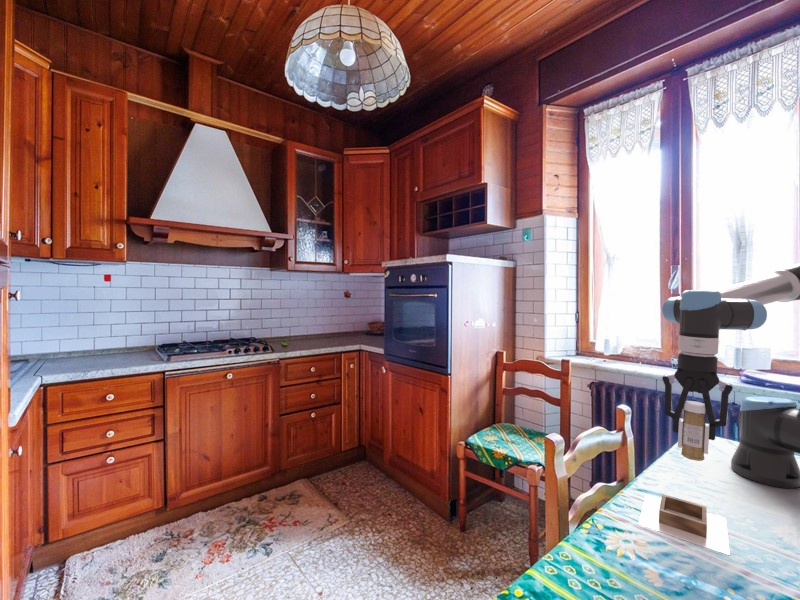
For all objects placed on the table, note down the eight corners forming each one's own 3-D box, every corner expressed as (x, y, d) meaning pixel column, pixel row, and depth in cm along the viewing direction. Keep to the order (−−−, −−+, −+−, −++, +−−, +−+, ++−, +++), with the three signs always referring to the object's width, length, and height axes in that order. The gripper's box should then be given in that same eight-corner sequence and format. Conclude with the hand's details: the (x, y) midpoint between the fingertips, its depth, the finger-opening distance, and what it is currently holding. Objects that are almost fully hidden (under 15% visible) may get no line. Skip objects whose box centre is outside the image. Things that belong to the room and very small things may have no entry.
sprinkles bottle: (707, 458, 91) (710, 404, 90) (699, 463, 88) (702, 407, 88) (685, 451, 94) (687, 399, 94) (677, 455, 92) (679, 401, 92)
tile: (726, 521, 89) (726, 517, 89) (729, 560, 77) (729, 555, 77) (646, 497, 99) (646, 494, 99) (638, 528, 87) (638, 524, 87)
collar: (706, 519, 89) (706, 506, 88) (706, 538, 82) (706, 524, 82) (662, 505, 94) (662, 494, 94) (658, 522, 87) (659, 510, 87)
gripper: (652, 351, 93) (648, 443, 94) (747, 361, 82) (741, 465, 83) (656, 347, 99) (652, 434, 100) (745, 356, 88) (739, 454, 89)
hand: (692, 448), depth 91 cm, fingers closed on sprinkles bottle, 4 cm apart
